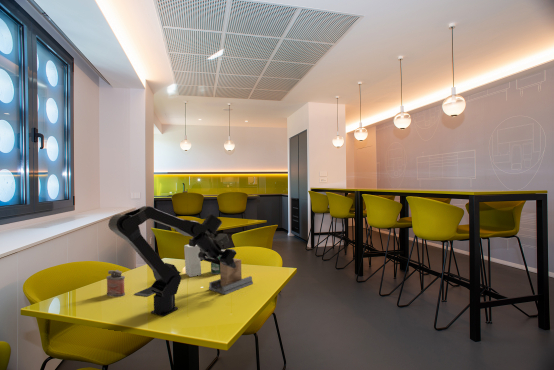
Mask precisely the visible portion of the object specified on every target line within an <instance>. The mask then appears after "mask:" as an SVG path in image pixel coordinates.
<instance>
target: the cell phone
mask: <svg viewBox="0 0 554 370" xmlns="http://www.w3.org/2000/svg"><path fill="white" fill-rule="evenodd" d="M150 287H151V286H149V287H147V288H144V289H142V290H140V291H138V292H135V293H134V294H133V295H134V296H139V297H144V298H147V297H150V296H152V295H155V293H152V292H151V289H150Z"/></svg>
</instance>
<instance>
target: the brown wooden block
mask: <svg viewBox="0 0 554 370" xmlns="http://www.w3.org/2000/svg"><path fill="white" fill-rule="evenodd" d="M233 259H234V262H235V265H236V267H235V268H231V267H229V266H226V265H223V264H222V263H221V262H220V274H219V276H220V278H219V279H221V286H224V285H227V284H230V283H233V282H235V281H238V280H241V279H243V278H242V259H238V258H235V257H234V258H233Z"/></svg>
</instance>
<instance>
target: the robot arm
mask: <svg viewBox="0 0 554 370" xmlns="http://www.w3.org/2000/svg"><path fill="white" fill-rule="evenodd" d="M147 220H150V221H153V222H155V223H158V224H161V225H164V226H166V227H170V228H173V229H174V230H175V231H176V232H177V233H179V234H181V235H183V236H185V237H192V238H189V239H188V241H189V242H188V244H189V246H193V247H195V246H196V245H197V246H198V247H199V248H200V252H199V254H198V257H199V258H200V260H202V261H205V262H207V263H210V264H211V263H214V264H218V265H220V262H221V263H222V264H223V265H226V266H229V267H231V268H235V267H236V265H235V262H234V258H235V257H236V255H237V251H236V250H235V249H234V248H224V245H225V244H227V243H229V242H230V240H229V237H228V234H227V233H223V232H222V233H217V232H218V230H219V229H220V227H221V225H222V224H223V221H222V220H221V219H220V218H218V217H216V216H214V215H213V214H212V213H208V214H207V216H206V218H205V219H204V220H203V221H202V223H200V222H199V221H196V220H189V219H184V218H179V217H178V216H175V215H172V214H170V213H167V212H164V211H162V210H159V209H157V208H155V207H153V206H148V205H146V206H145V205H144V206H141V207H139V208H137V209H133V210H131V211H128V212H125V213H123V214H121V213H120V214H119V213H118V214H114V215H113V216H111V218H109V221H108V228H109V230H110V231H112V232H113V233H114V234H116V235H117V236H118V237H120V238H121V239H122V240H124V241H125V242H127V243H128V244H129V246H131V247H132V249H134V252H136V253H137V254H138V255H139V257H140V258H142V260H143V261H144V263H146V264H147V266H148V267H149V268H150V269H151V271H152V273H153V277H154V280H155V281H154V282H153V283H152V285H151V286H149V287H150V289H151V292H152V293H155V294H153V310H151V311H150V313H151V314H153V315H157V316H161V317H165V316H167V315H169V314H171V313H173V312H174V311H177V310H178V309H179V307H177V306H176V295H177V293H178V290H179V287H180V284H181V281H182V275H181V273H182V272H181V271H179V270H178V268H177V267H176V265H175V264H173V263H169V262H164V261H163V260H162V258H161V256H159V254H158V253H157V252H156V251H155V249H154V248H153V247H152V246H151V245H150V244H149V242H148V241H147V240H146V239H145V237H144V236H143V235H142V233H141V229H140V225H143V223H145V222H146V221H147ZM222 249H225V251H221V250H222ZM218 256H219V257H220V260H219V259H218Z"/></svg>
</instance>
